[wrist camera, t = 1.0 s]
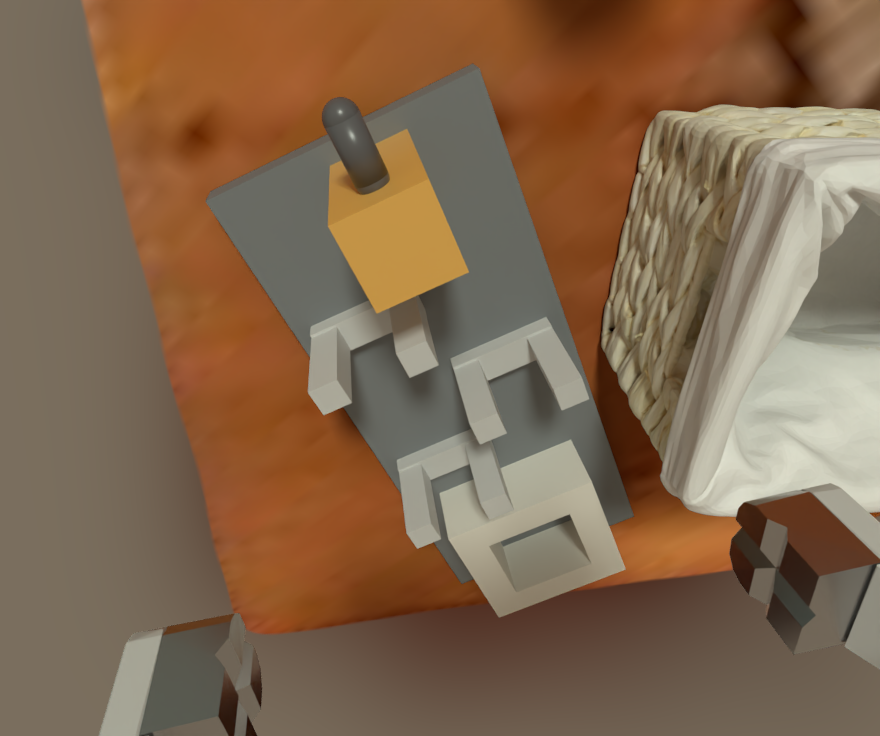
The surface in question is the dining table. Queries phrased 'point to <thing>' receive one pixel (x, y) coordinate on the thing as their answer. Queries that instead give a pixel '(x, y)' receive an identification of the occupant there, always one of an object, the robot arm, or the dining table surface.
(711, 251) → the storage basket
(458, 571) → the board
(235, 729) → the robot arm
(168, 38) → the dining table surface
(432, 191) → the plug
